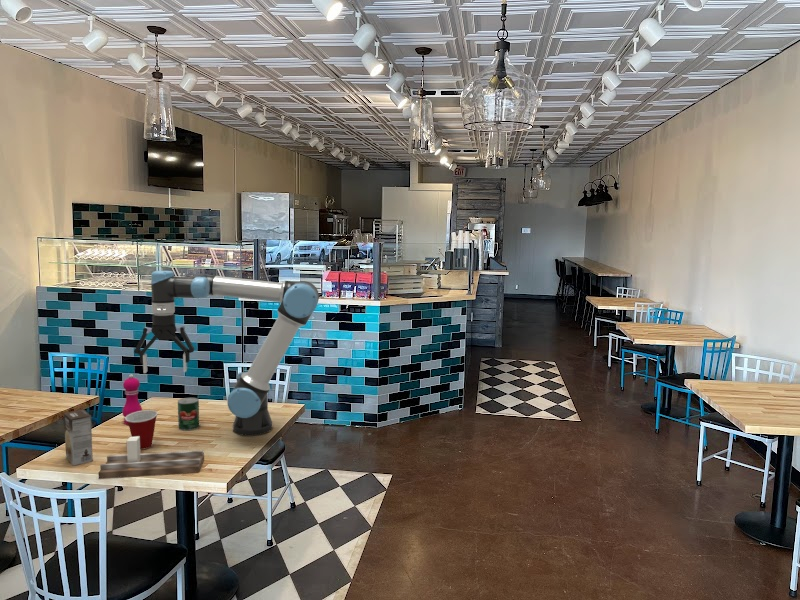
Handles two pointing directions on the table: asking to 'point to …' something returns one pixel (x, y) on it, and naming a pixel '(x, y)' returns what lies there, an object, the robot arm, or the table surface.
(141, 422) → the plastic cup
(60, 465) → the table surface
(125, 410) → the pepper mill
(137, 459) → the fader tab
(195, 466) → the fader track
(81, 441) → the coffee box
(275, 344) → the robot arm
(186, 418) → the canned tomato
